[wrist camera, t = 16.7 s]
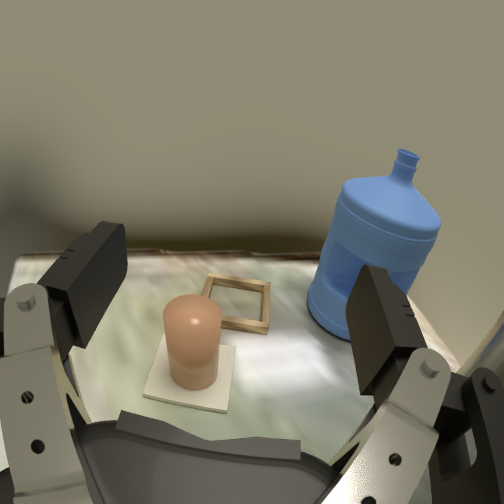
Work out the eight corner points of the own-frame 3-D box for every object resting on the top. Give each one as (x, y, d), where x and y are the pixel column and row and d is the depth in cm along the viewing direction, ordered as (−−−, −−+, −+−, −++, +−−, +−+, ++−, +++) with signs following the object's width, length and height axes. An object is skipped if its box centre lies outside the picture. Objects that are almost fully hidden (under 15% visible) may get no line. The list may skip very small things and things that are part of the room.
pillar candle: (220, 341, 41) (225, 284, 36) (216, 392, 34) (219, 339, 29) (177, 336, 41) (173, 279, 35) (166, 386, 34) (157, 331, 29)
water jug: (308, 274, 59) (348, 127, 44) (383, 291, 58) (438, 156, 42) (302, 333, 46) (362, 149, 31) (395, 351, 45) (479, 190, 29)
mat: (235, 350, 42) (235, 346, 41) (226, 413, 33) (227, 410, 33) (163, 337, 41) (163, 333, 41) (143, 396, 33) (142, 393, 33)
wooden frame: (268, 289, 54) (270, 282, 53) (266, 334, 45) (268, 327, 44) (208, 279, 53) (208, 272, 52) (195, 322, 45) (196, 315, 44)
